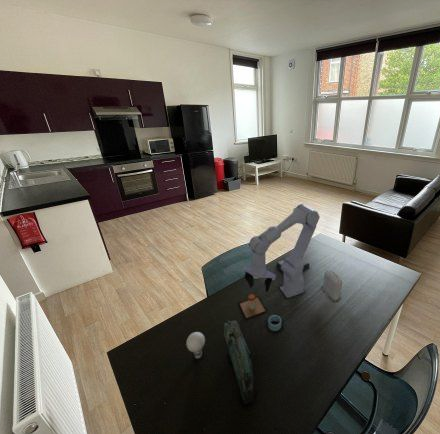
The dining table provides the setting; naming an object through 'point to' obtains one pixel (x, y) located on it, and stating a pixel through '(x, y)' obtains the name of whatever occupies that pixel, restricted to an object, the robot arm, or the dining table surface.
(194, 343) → the lightbulb
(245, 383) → the dark teal slab
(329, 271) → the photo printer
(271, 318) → the teal ring
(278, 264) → the calculator
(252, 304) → the marker
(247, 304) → the coaster
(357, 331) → the dining table surface
